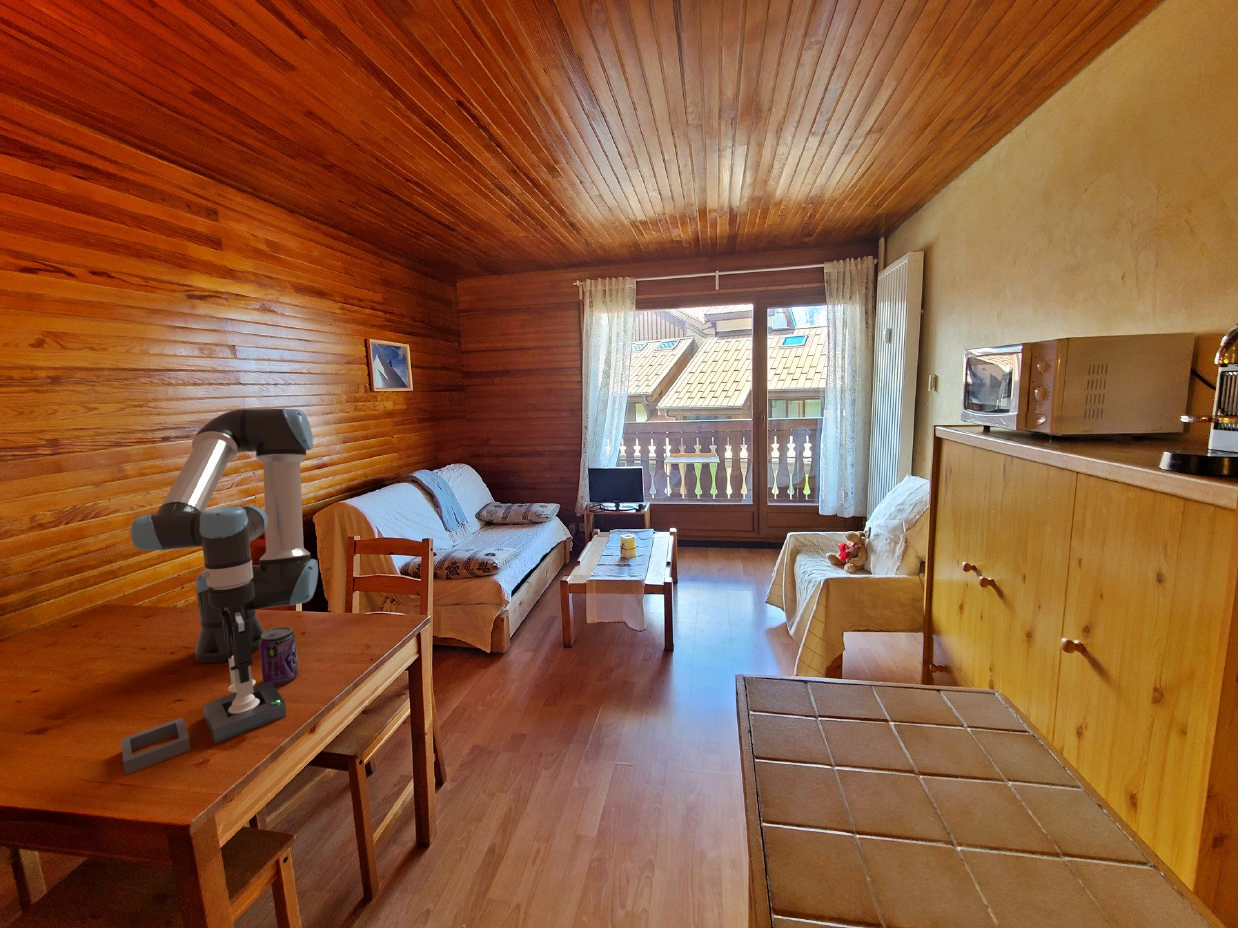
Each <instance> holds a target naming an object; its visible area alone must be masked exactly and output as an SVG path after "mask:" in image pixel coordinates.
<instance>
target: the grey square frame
mask: <svg viewBox="0 0 1238 928" xmlns="http://www.w3.org/2000/svg"><path fill="white" fill-rule="evenodd" d="M176 735H177V738H176V739H173V740H171V741H167V742H165V743H163V744H160V745H158V746H154V747H152V748H149V749H147V750H144V751H142V752H141V751H140V752H139V753H136V754H133V751H135V750H139V749H141V748H144V747H146V746H149V745H152V744H155V743H157V742H159V741H162V740H166V739H168V738H170V737H174V736H176ZM120 743H121V745H120V746H121V754H122V763H123V769H124V774H125V775H124V776H127V775H129V774H132V773H134V772H137V771H140V770H142V769H145V768H148V767H150V766H153V765H155V764H158V763H161V762H163V761H165V760H167V759H170V758H173V757H176V756H178V755H180V754H183V753H187V752H188V751H190V750H191V743H190V736H189V734H188V730H187V727H186V724H185V721H184V718H183V717H180V718H177V719H173V720H171V721H168V722H165V723H163V724H160V725H158V726H154V727H151V728H149V729H146V730H143V731H139V732H137V733H134V734H132V735H129V736H127V737H123V738H120Z"/></svg>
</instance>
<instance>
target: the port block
mask: <svg viewBox="0 0 1238 928" xmlns="http://www.w3.org/2000/svg"><path fill="white" fill-rule="evenodd" d="M253 691H254V693H253V694H252V695H254V696H255V698H257V699H259V700H260V702H259V704H258V705H257V706H256V707H255V708H252V709H250V710H247V711H244V712H242V713H239V714H233V715H232V714H231V713H229V712H228V709H229V708H230V706H232V702H233V700H235V698H236V695H237V693H236V692H234V693H231V694H229V695H225V696H224V697H221V698H218V699H214V700H212V701H209V702H206V703H203V704H202V706H203V714H204V719H205V722H206V725H207V728H208V729H209V732H210V735H211V737H212V740H213V743H214V744H215V745H216V744H219V743H222V742H225V741H226V740H227V741H228V740H229V739H233V738H234V737H236V736H240V735H241V734H244V733H247V732H249V731H252V730H254V729H256V728H259V727H262V726H264V725H268V724H270V723H273V722H274V721H277V720H280V719H282V718H284V717H287V706H286V702H285V700H284V699H283V697H282V696H281V694H280V693H279V691H278V690H277V689H276V687H275V685H273V684H272V682H271V681H269V682H267V683H261V684H258V685H254V686H253ZM230 715H231V716H230ZM228 716H229V717H228Z"/></svg>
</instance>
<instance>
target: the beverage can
mask: <svg viewBox="0 0 1238 928" xmlns="http://www.w3.org/2000/svg"><path fill="white" fill-rule="evenodd" d="M259 648H260V649H259V655H260V656H259V657H260V666H261V675H262V684H264V683H267V682H269V681H271V682H272V684H273V685H274V686H280V685H283V684H287V683H288V682H290V681H292V680H293V679H295V678H297V676H298V675H299V673H300V672H299V663H298V654H297V653H298V651H297V641H296V634H295V633H294V632H293V628H292V627H291V626H278V627H273V628H271V629H268V630H265V632H264V633H262V634H261V640H260V642H259Z"/></svg>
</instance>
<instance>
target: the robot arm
mask: <svg viewBox="0 0 1238 928" xmlns="http://www.w3.org/2000/svg"><path fill="white" fill-rule="evenodd" d="M312 432H313V431H312V427H311V424H310V421H309V419H308V416H307V415H306V413H304V411H303V410H301V409H298V408H297V409H296V408H295V409H294V408H285V407H283V408H259V409H258V408H257V409H256V408H253V409H252V408H251V409H249V408H248V409H244V408H241V409H234V410H230V411H227V412H225V413H222V414H220V415H218V416H216V417H215V418H212V419H211V420H210V421H209V422H207V423H205V424H204V425H202V427H201V428H200V429H199V430H198V431H197V433H196V434H195V436H194V437H193V439H192V441H191V448H192V451H191V453H190V454H189V456H188V457H187V460H186V462H185V463H184V465H183V467H182V469H181V470H180V471H179V473H178V475H177V477H176V479H175V481H174V482H173V484H172V486H171V488H170V489H169V491H168V493H167V494H166V496H165V498H164V500H163V501H162V503H161V505H160V507H159V508H158V510H157V512H155V514H153V513H149V514H145V515H139V516H138V517H136V518H135V519H134V520H133V522H132V524H131V529H130V538H131V542H132V543H133V545H134V547H136V549H138V550H139V551H146V552H147V551H150V552H151V551H169V550H176V549H188V548H198V547H202V554H203V562H204V568H205V569H204V570H202V571H201V572H200V573H199V574H198V575H197V576H196V578H195V582H196V583H195V585H196V587H195V588H196V590H195V593H196V597H197V604H198V606H197V607H198V612H199V613H198V614H199V621H200V632H199V635H198V639H197V641H196V646H195V648H194V649H195V651H194V654H195V660H196V661H198V662H200V663H204V664H217V663H224V662H228V667H229V668H228V669H229V675H230V684H231V685H232V684H234V680H233V671H232V670H234V676H235V684H236V692H235V693H237V698H241V697H244V696H247V695H250V694H253V693H254V691H253V687H254V685H253V682H252V679H253V676H252V674H253V672H252V666H253V664H254V661H253V656H252V654H253V653H255V652H256V651H260V648H259V642H260V640H261V634H262V633H264V632H265V631H266V630H265V629H264V627H263V626H262V624H261V621H260V620H259V618H258V616H257V611H256V610H262V609H269V608H277V607H285V606H290V607H291V606H292V607H293V606H294V605H298V604H299V605H300V604H305V603H307V602H310V601H311V599H313V597H314V594H315V591H316V588H317V584H318V576H319V567H318V565H319V564H318V560H317V559H314V558H311V552H310V551H308V550H307V549H305V547H304V527H303V526H304V525H303V503H302V502H303V499H302V476H301V475H302V473H301V472H302V471H301V464H302V461H303V460H305V459H306V458H307V451H310V450H313V448H314V444H313V443H314V438H313V433H312ZM247 452H248V453H255V457H256V459H257V460H259V462H261V463H262V467H263V471H262V472H263V494H264V495H263V497H264V510H263V509H262V508H261V507H259V506H256V505H250V504H249V505H248V504H247V505H241V506H224V507H223V506H222V507H216V508H211V509H207V507H208V505H209V503H210V501H211V498H212V497H213V495H214V492H215V491H216V488H217V486H218V484H219V482H220V480H221V478H222V477H223V474H224V472H225V469H226V467H227V465H228V463H229V462H230V461H232V460H234V459H235V458H236V457H237V455H238V454H240V453H247ZM206 509H207V510H206ZM264 531H265V553H264V554H262V556H261V557H260V558H259V565H253V560H252V553H251V545H250V544H251V542H253V541H254V540H256V539H258V538H259V537H260V536H261V535H262V534H264V533H263V532H264ZM232 656H234V663H235V665H234V666H233V667H231V665H232V661H231V657H232ZM231 685H230V686H231Z"/></svg>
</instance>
